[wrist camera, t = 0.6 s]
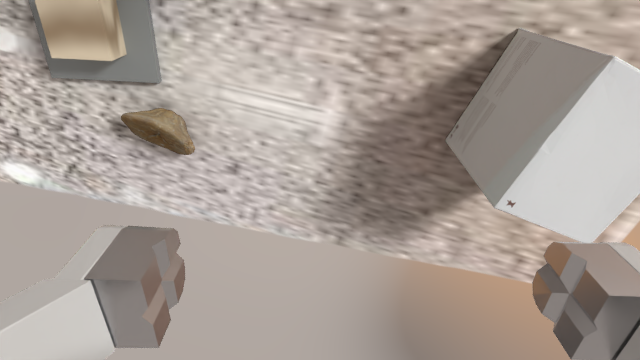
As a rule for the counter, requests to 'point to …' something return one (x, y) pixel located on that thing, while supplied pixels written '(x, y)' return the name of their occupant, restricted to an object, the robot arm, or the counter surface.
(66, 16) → the maple base
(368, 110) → the counter surface
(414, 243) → the counter surface
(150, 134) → the fossil
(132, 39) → the build plate
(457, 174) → the counter surface
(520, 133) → the supplement box
